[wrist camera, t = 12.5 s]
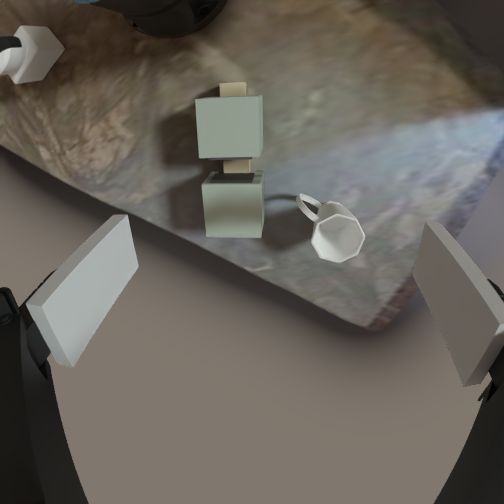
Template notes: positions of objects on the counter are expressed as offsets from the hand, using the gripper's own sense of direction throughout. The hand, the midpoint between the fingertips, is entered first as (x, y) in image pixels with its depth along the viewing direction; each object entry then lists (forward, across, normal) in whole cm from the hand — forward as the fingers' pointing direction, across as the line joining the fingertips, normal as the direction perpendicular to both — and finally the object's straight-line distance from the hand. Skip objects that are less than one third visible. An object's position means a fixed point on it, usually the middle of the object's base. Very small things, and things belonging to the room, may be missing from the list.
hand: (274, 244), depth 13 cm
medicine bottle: (+32, -38, +18) cm, 53 cm away
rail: (+32, -6, -2) cm, 32 cm away
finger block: (+30, -6, +2) cm, 30 cm away
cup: (+32, +6, -11) cm, 34 cm away
